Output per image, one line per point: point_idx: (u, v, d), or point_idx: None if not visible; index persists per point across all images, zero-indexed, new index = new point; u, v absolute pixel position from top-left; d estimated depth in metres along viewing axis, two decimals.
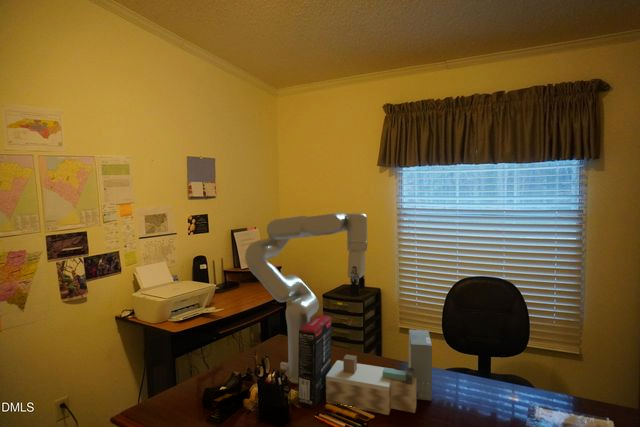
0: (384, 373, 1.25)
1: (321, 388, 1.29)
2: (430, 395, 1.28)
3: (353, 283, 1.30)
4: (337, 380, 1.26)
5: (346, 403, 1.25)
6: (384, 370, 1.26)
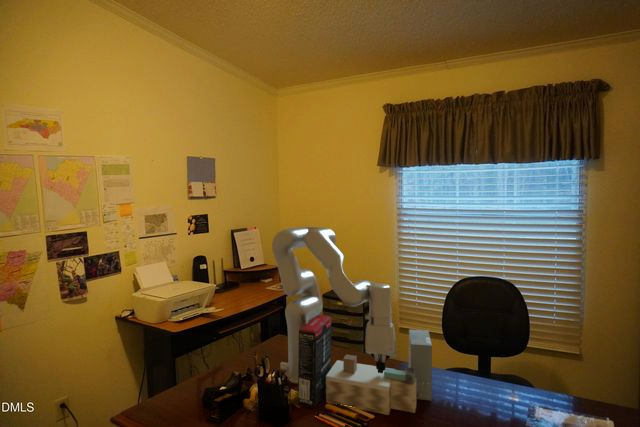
0: (386, 373, 1.25)
1: (321, 388, 1.29)
2: (430, 395, 1.28)
3: (386, 359, 1.26)
4: (337, 380, 1.26)
5: (346, 403, 1.25)
6: (386, 370, 1.26)
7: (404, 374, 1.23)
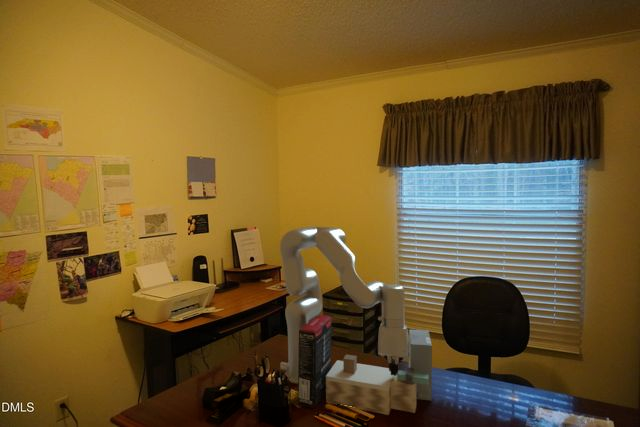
0: (399, 375, 1.23)
1: (321, 388, 1.29)
2: (430, 395, 1.28)
3: None
4: (337, 380, 1.26)
5: (346, 403, 1.25)
6: (399, 372, 1.24)
7: (418, 376, 1.21)
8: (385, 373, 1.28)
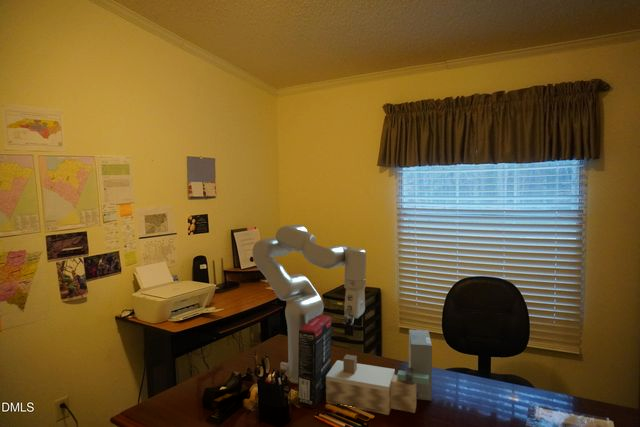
0: (399, 375, 1.23)
1: (321, 388, 1.29)
2: (430, 395, 1.28)
3: None
4: (337, 380, 1.26)
5: (346, 403, 1.25)
6: (399, 372, 1.24)
7: (418, 376, 1.21)
8: (385, 373, 1.28)
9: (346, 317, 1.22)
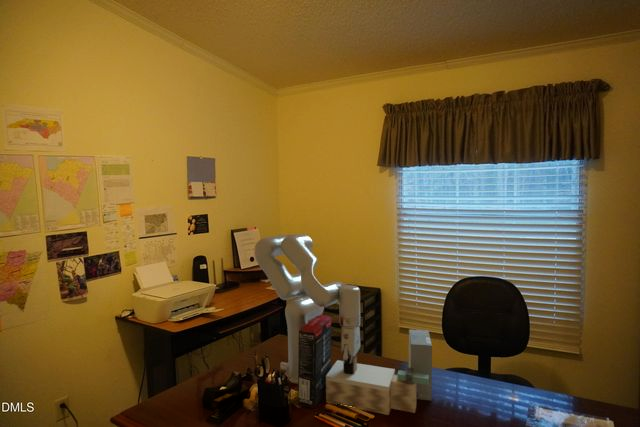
0: (399, 375, 1.23)
1: (321, 388, 1.29)
2: (430, 395, 1.28)
3: None
4: (337, 380, 1.26)
5: (346, 403, 1.25)
6: (399, 372, 1.24)
7: (418, 376, 1.21)
8: (385, 373, 1.28)
9: (345, 360, 1.25)
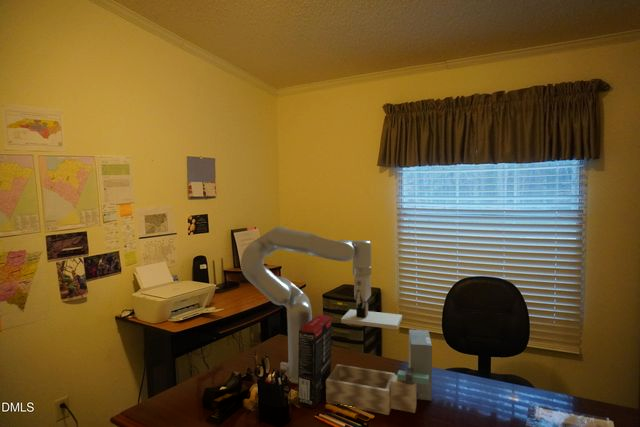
0: (399, 375, 1.23)
1: (321, 388, 1.29)
2: (430, 395, 1.28)
3: None
4: (351, 322, 1.42)
5: (346, 403, 1.25)
6: (399, 372, 1.24)
7: (418, 376, 1.21)
8: (393, 317, 1.45)
9: (358, 304, 1.41)
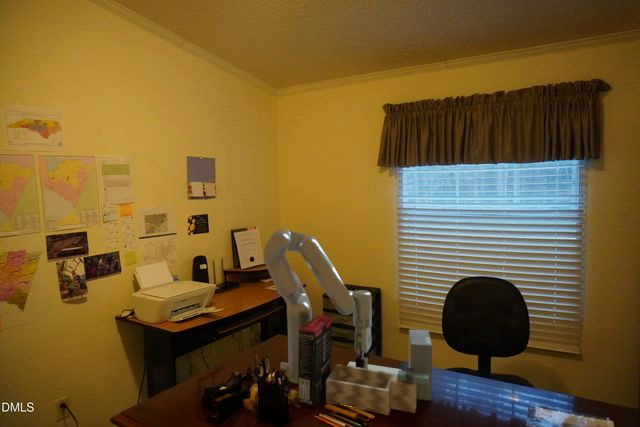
0: (399, 375, 1.23)
1: (321, 388, 1.29)
2: (430, 395, 1.28)
3: None
4: None
5: (346, 403, 1.25)
6: (399, 372, 1.24)
7: (418, 376, 1.21)
8: None
9: (357, 353, 1.40)
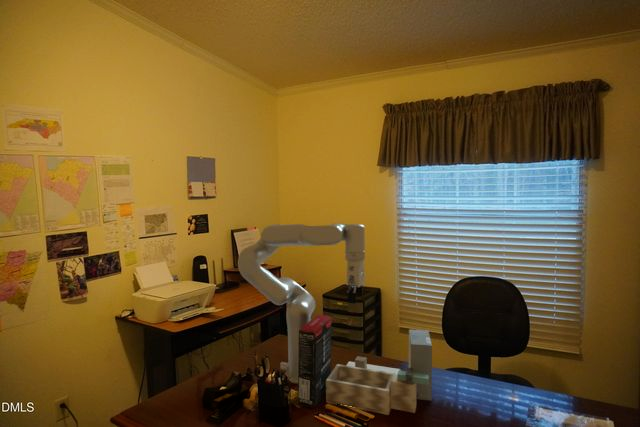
0: (399, 375, 1.23)
1: (321, 388, 1.29)
2: (430, 395, 1.28)
3: None
4: None
5: (346, 403, 1.25)
6: (399, 372, 1.24)
7: (418, 376, 1.21)
8: None
9: (349, 285, 1.33)
